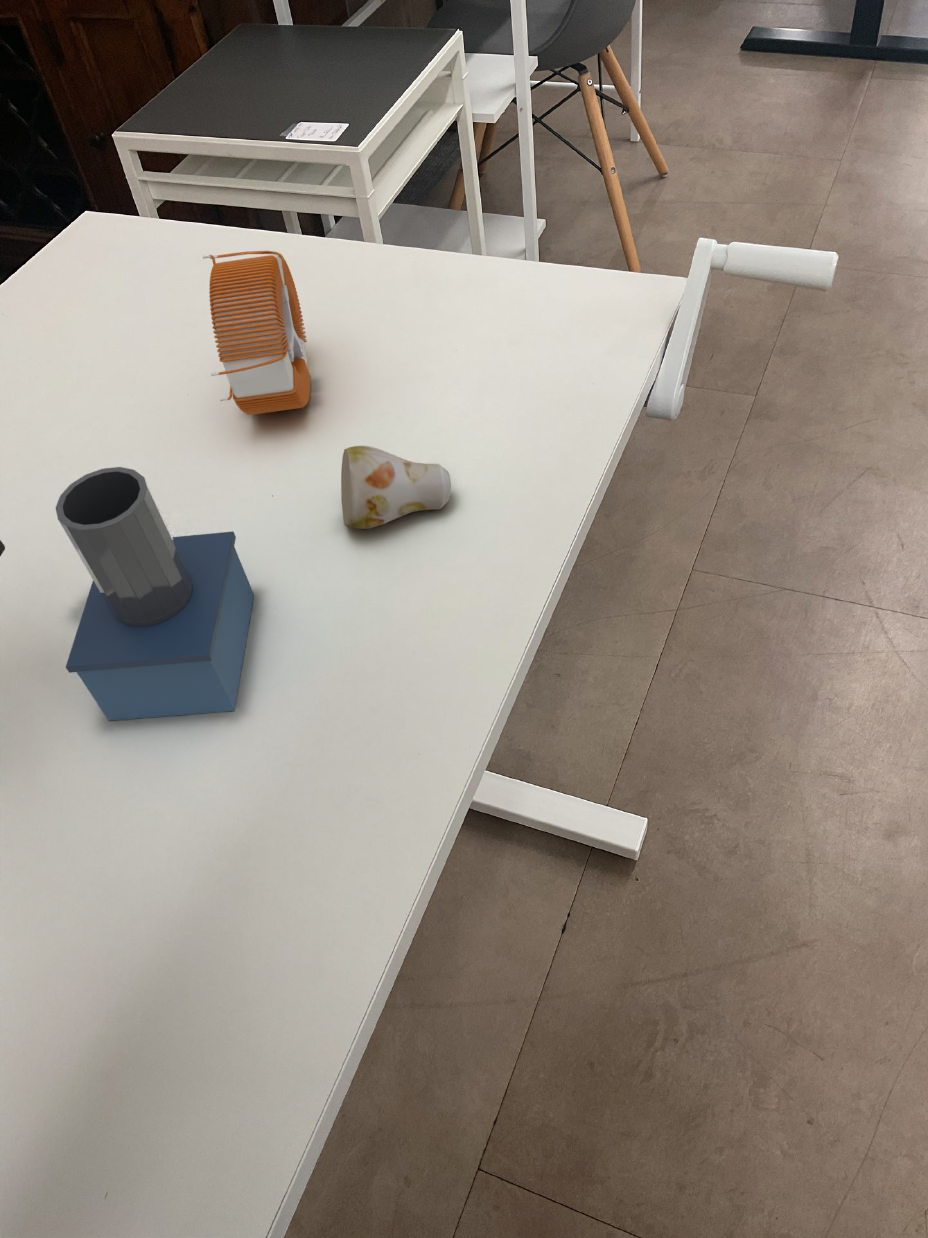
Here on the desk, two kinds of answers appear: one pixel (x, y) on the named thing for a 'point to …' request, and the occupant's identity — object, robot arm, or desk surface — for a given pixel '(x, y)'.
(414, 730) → the desk surface
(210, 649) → the container
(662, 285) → the desk surface
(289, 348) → the coil
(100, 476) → the cup
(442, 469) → the patterned salt shaker
